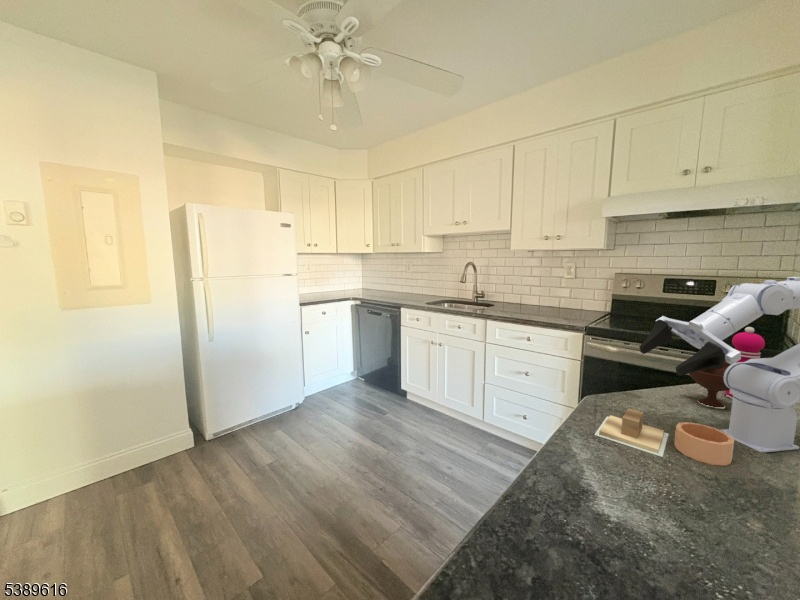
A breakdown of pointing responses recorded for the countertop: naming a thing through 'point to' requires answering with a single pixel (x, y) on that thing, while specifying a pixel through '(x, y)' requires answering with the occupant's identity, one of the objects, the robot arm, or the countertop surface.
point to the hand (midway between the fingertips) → (658, 360)
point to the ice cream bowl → (711, 384)
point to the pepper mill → (747, 346)
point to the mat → (660, 453)
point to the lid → (633, 431)
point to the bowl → (704, 443)
